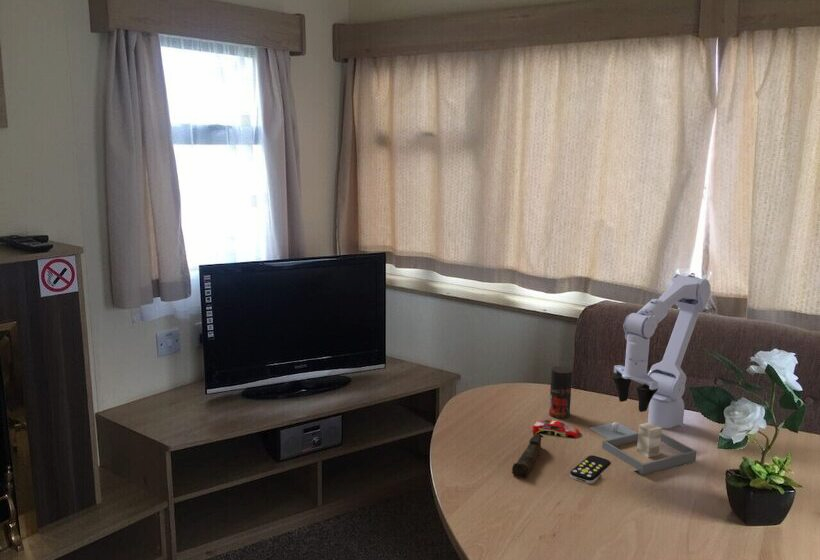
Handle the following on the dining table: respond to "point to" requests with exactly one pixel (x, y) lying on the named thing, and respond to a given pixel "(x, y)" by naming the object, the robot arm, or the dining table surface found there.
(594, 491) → the dining table surface
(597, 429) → the stud plate
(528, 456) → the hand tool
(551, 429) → the race car
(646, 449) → the beige block
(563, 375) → the deodorant
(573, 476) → the remote control
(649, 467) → the bin
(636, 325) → the robot arm
